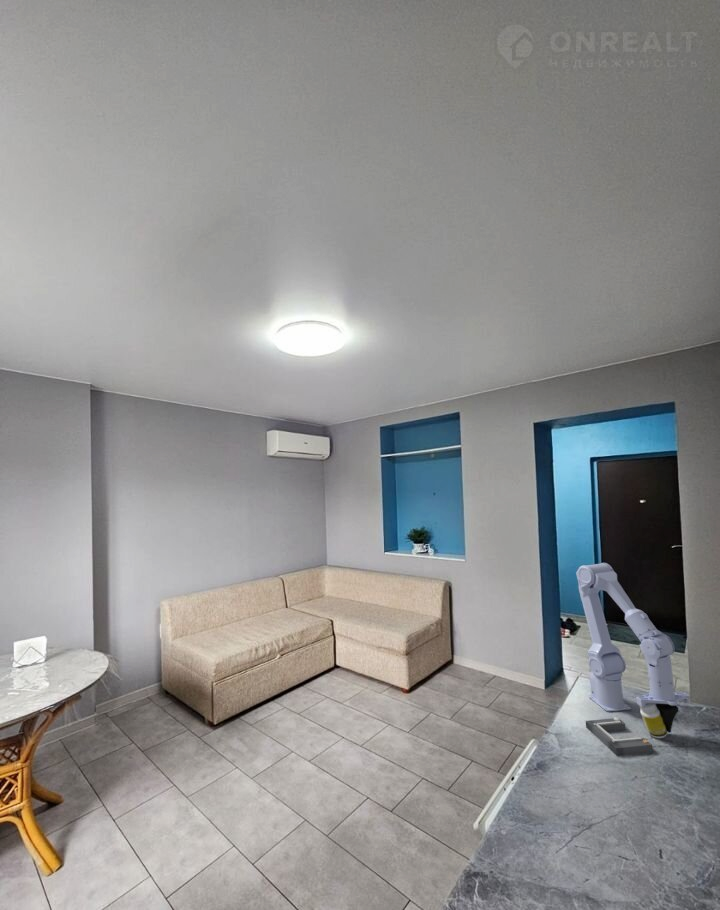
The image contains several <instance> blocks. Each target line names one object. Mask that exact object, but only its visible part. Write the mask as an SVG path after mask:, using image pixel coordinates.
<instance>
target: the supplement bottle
mask: <svg viewBox="0 0 720 910" xmlns="http://www.w3.org/2000/svg"><path fill="white" fill-rule="evenodd" d="M638 706H639V709H640V716H641V718H642V721H643V723H644V726H645V728H646V731H647V733H648V734H649V736H650V737H652V738H655V739H664V738H665V737H666V736H667V735H668V732H667V730H666V727H665V724H664V722H663V719H662V716H661V714H660V711H659V710H658V709H657V707H656V705H655V703H650V704H647V705H645V707H641V706H640V705H638Z"/></svg>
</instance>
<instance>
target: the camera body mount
mask: <svg viewBox="0 0 720 910" xmlns="http://www.w3.org/2000/svg"><path fill="white" fill-rule="evenodd" d="M585 728H586V729H587V730H588V731H590V733H592V734H593V736H595V737H596V738H597V739H598V740H599V741H600V742H602V744H603V745H605V746H606V747H607V749H609V750H610V752H612V753H613V754H614V755H616V756H625V755H634V754H635V755H636V754H646V753H653V752H654V751H653V749H654V748H653V744H652V743H651V742H649V741H648V740H647V739H645V738H644V737H640V736H639V737H631V738H619V739H616V738H614V737H613V736H612V735H611V734H610V733H609V732H622V731H626V728H627V727H626V723H625V722H624V721H623V720H622V719H621V718H620V717H618V716H614V717H613V718H604V719H603V718H602V719H594V720H593V719H592V720H585Z"/></svg>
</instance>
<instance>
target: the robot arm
mask: <svg viewBox="0 0 720 910" xmlns="http://www.w3.org/2000/svg"><path fill="white" fill-rule="evenodd" d="M575 574H576V579H577V583H578V592H579V594H580V595H579V596H580V600H581V602H582V608H583V611H584V615H585V619H586V622H587V626H588V631H589V634H590V638H591V643H592V645H591V646H590V647H589V649H588V650H587V653H588V661H587V662H588V667H589V669H590V671H591V672H590V674H589V686H590V694H591V695H588V698H589V699H591V700H592V701H593V702H594V703H596V704H597V705H598V706H600V707H601V708H602V709H603V710H605V711H606V712H618V711H629V710H631V709H632V708H631V706H629V705H627V704H626V703H625V702H624V694H623V684H622V677H623V675H624V674H623V673H625V671H626V669H627V664H626V661H625V659H624V657H623V656H622V654H621V650H620V649H619V647H618V646H616V645H615V644H613V643H612V640H611V636H610V632H609V629H608V625H607V624H608V623H607V622H606V617H605V614H604V611H603V607H602V604H601V599H600V596H599V592H600V591H604V592H606V593H607V594H608V596H610V598H611V599H612V600H613V601H614V602H615V603H616V605H617V606H618V607H619V608H620V610H621V611H622V612H623V613H624V621H625V622H626V623H627V625H628V626H629V628H630V629H631V631H632V632H633V633H634V634H635V636H636V637H637V639H638V640H639V641H640V644H639V648H640V650H641V652H642V654H643V655H644V661H645V662H646V665H647V676H648V682H649V683H648V685H649V692H647V693H645V694H642V695H638V696H635V697H636V698H635V699H636V704H637V705H638V706H639V705H640V706H641V707H645V705H647V704H650V703H655V705H656V707H657V709H658V710H659V711H660V714H661V716H662V719H663V722H664V724H665V727H666V730H667V733H672V727H673V722H674V719H675V717H676V715H677V713H678V712H679V708H678V707H679V706H678V703H683V702H685V703H691V697H690V696H691V695H689V694H688V693H687V692H684V691H681V692H679V691H678V692H677V691H675V685H674V675H673V667H672V658H671V655H673V654H674V653H675V646H674V642H673V641H672V639H671V637H670V636H668V635H666V634H665V633H663V632H662V631H661V630H658V629H657V628H656V626H655V625H654V623H653V622H652V621H651V620H650V618H649V616H648V614H647V613H645V612H644V611H643V610H641V609H638V608H636V606H635V605H634V604H633V601H632V600H631V599H630V597H629V596H628V594H627V593H626V592H625V590H624V588H623V587H622V585H621V584H620V582H619V581H618V574H617V573H616V572H615V570H614V569H613V567H612V566H611V565H610V564H608V562H607V563H606V562H601V563H595V564H588V565H581V566H579V568H578V569H577V571H576V572H575ZM640 706H639V707H640Z"/></svg>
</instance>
